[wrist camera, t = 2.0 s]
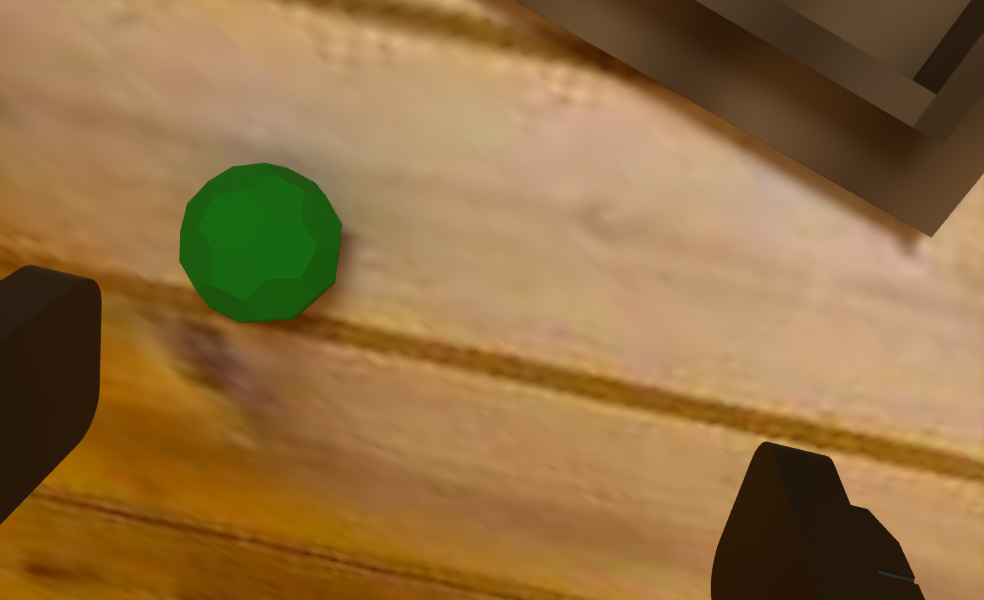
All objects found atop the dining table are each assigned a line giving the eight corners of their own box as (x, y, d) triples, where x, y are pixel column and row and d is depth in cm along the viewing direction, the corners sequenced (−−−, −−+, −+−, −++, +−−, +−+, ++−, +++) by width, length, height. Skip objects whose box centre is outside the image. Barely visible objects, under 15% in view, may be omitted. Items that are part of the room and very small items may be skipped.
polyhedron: (349, 299, 32) (312, 364, 27) (211, 272, 32) (152, 332, 27) (366, 162, 29) (328, 209, 25) (217, 133, 29) (155, 174, 25)
